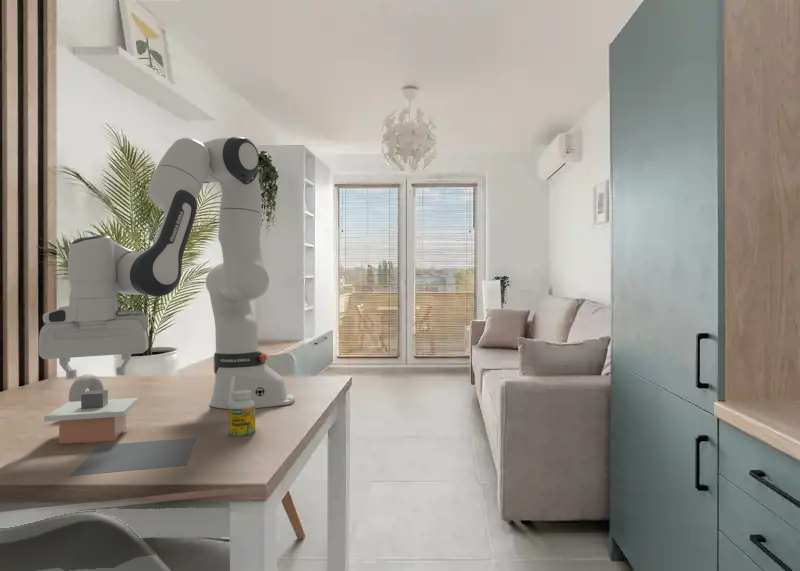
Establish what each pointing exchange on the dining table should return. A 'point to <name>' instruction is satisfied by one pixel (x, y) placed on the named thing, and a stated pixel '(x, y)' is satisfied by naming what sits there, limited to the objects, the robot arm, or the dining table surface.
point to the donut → (84, 386)
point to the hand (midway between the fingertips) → (96, 377)
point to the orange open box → (91, 430)
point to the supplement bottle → (241, 414)
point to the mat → (137, 456)
